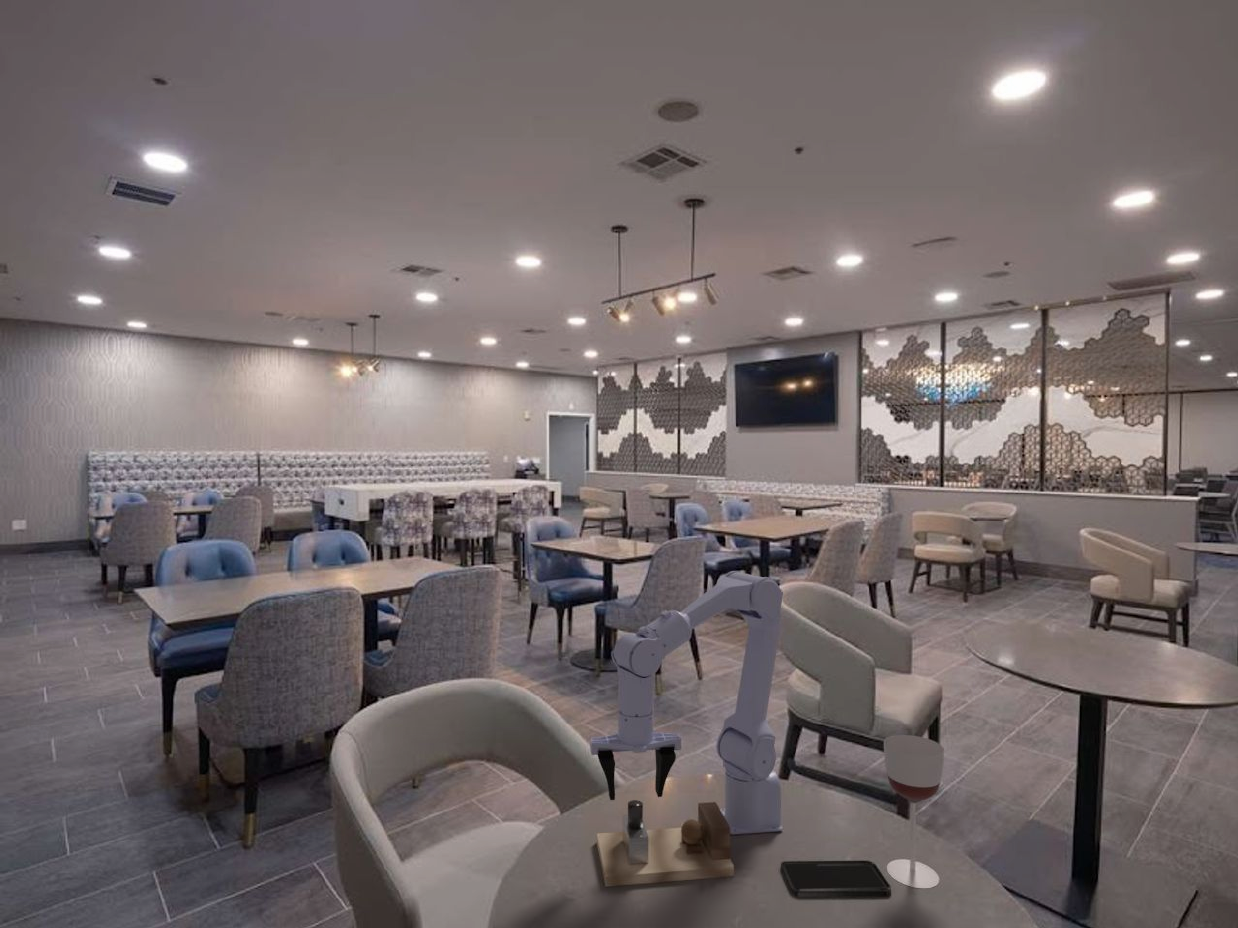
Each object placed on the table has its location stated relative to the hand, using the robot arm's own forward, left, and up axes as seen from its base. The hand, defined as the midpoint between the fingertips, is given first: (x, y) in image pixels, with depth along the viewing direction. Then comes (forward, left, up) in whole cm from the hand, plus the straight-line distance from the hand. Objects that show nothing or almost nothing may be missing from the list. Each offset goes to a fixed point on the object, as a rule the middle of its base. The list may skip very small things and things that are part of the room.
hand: (635, 795), depth 108 cm
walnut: (-9, 0, -6) cm, 11 cm away
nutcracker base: (-4, 0, -10) cm, 11 cm away
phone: (-29, +9, -11) cm, 33 cm away
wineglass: (-42, +9, -11) cm, 45 cm away
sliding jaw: (0, 0, -9) cm, 9 cm away
